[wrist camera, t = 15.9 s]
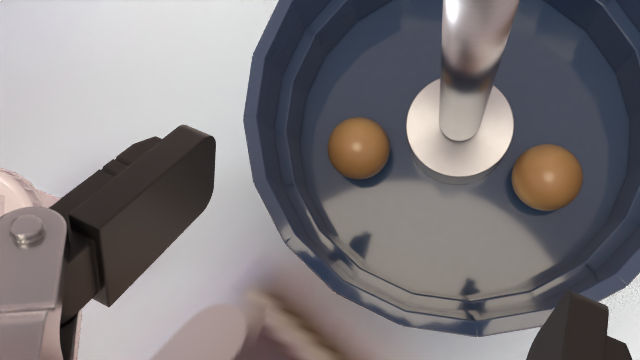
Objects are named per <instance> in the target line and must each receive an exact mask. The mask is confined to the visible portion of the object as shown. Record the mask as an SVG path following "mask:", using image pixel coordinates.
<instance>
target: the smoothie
mask: <svg viewBox="0 0 640 360" xmlns="http://www.w3.org/2000/svg"><path fill="white" fill-rule="evenodd" d="M58 200H60V199H59V198H57V197H54V196H52V195H49V194H47V193H45V192H42V191H40V190H38V189H35V188H34V186H33V185H32V184H31V183H30V182H29V181H27V180H26V179H24V178H23V177H21V176H20V175H19V174H17V173H15V172H12V171H8V170H5V169H2V168H0V217H1V216H3V215H4V214H6V213H8V212H10V211H13V210H16V209H19V208H24V207H33V206H34V207H46V208H49V207H50V206H52V205H53V204H55V203H56V202H57V201H58Z"/></svg>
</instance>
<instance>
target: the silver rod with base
mask: <svg viewBox="0 0 640 360" xmlns="http://www.w3.org/2000/svg"><path fill="white" fill-rule="evenodd" d="M519 1H520V0H443V14H442V44H441V74H440V78H439V79H436V80H434V81H433V82H431V83H429V84H428V85H426V86H425V87H424V88H423V89H422V90H421V91H420V92H419V93H418V94H417V95H416V97H415V98H414V99H413V101H412V103H411V105H410V107H409V110H408V113H407V117H406V135H407V141H408V146H409V150H410V153H411V155H412V158H413V159H414V161H415V163H416V164H417V166H418V167H419V168H420V169H421V170H422V171H423V172H424V173H425V174H427V175H428V176H429V177H431V178H433V179H435V180H437V181H440V182H442V183H446V184H453V185H463V184H469V183H473V182H476V181H478V180H481V179H482V178H484V177H486V176H487V175H489V174H490V173H491V172H492V171H493V170H494V169H495V168H496V167H497V166H498V165H499V163H500V162H501V160H502V159H503V157H504V155H505V154H506V152H507V150H508V148H509V147H510V144H511V142H512V139H513V135H514V116H513V112H512V109H511V106H510V104H509V102H508V100H507V98H506V97H505V95H504V94H503V93H502V92H501V91H500V90H499V89H498V88H497V87H496V86H495V85H493V84H494V81H495V77H496V74H497V71H498V68H499V65H500V62H501V58H502V55H503V52H504V49H505V46H506V43H507V39H508V36H509V33H510V30H511V27H512V23H513V20H514V17H515V14H516V11H517V8H518V4H519Z"/></svg>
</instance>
